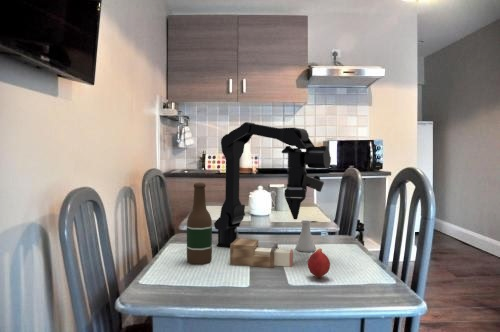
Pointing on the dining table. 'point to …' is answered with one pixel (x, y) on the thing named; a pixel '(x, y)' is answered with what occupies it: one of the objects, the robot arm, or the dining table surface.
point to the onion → (318, 263)
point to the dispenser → (249, 254)
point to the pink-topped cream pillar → (277, 255)
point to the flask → (305, 238)
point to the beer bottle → (199, 229)
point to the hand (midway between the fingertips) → (296, 216)
